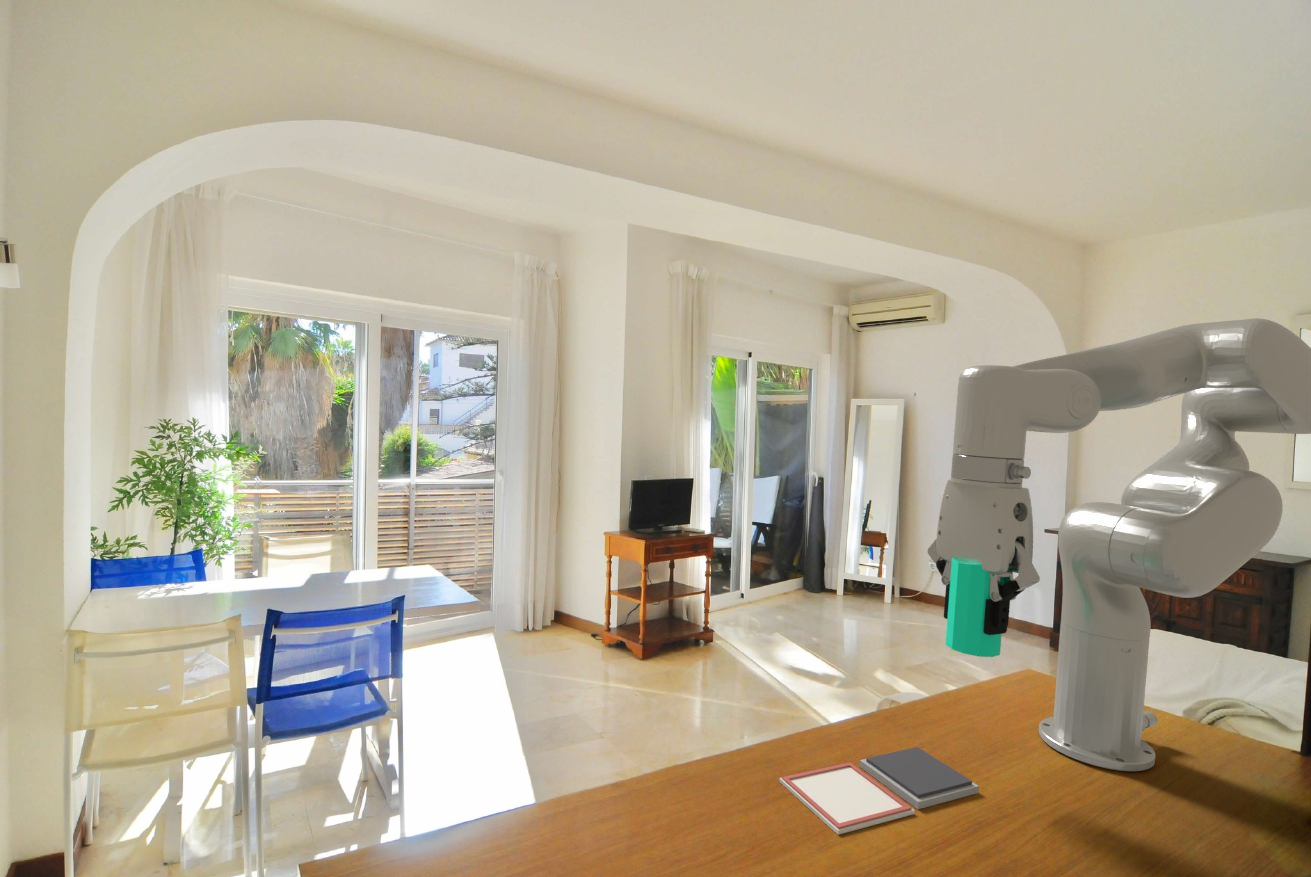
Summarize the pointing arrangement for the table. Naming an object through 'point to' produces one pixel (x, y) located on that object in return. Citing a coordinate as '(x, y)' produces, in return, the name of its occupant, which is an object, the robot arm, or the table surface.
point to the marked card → (845, 797)
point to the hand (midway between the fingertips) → (974, 624)
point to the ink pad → (919, 777)
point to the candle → (970, 611)
